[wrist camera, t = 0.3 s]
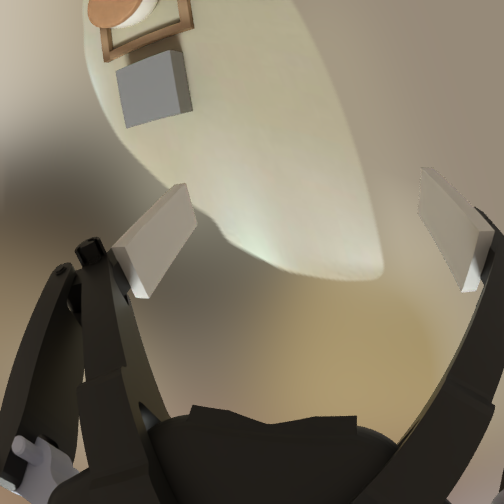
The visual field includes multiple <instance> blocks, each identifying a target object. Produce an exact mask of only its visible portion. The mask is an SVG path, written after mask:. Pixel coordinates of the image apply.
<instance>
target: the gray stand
mask: <svg viewBox="0 0 504 504" xmlns="http://www.w3.org/2000/svg"><path fill="white" fill-rule="evenodd" d="M116 77H117V83H118V88H119V94H120V99H121V105H122V110H123V115H124V120H125V124H126V128H130V127H133V126H137V125H140V124H144V123H147V122H151V121H154V120H158V119H162V118H166V117H170V116H174V115H178V114H182V113H186V112H191V111H193V110H192V104H191V99H190V93H189V88H188V82H187V76H186V70H185V64H184V58H183V52H179V51H173V50H168V51H165V52H162V53H159V54H156V55H154V56H151V57H148V58H146V59H143V60H141V61H138V62H136V63H133V64H131V65H129V66H126V67H124V68H122V69H119V70H117V71H116Z"/></svg>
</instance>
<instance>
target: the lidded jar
mask: <svg viewBox="0 0 504 504" xmlns="http://www.w3.org/2000/svg"><path fill="white" fill-rule="evenodd" d="M157 1H158V0H89V3H88V17H89V20H90V21H91V23H92V24H93V25H95V26H96V27H99V28H125V27H130V26H133V25H135V24H138V23H139V22H141V21H143V20H144V19H145V18H147V17H148V16H149V15H150V14H151V12H152V11H153V10H154V8H155V6H156V4H157Z"/></svg>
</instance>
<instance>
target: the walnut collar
mask: <svg viewBox="0 0 504 504" xmlns="http://www.w3.org/2000/svg"><path fill="white" fill-rule="evenodd" d="M177 2H178V9H179V16H180V22H179V23H176V24H173V25H170V26H168V27H165V28H162V29H160V30H157V31H154V32H152V33H149V34H147V35H145V36H142V37H140V38H138V39H135V40H133V41H131V42H129V43H127V44H124V45H122V46H120V47H118V48H116V49H114V50H113V44H112V36H111V28H100V34H101V43H102V51H103V59H104V62H110V61H112V60H114V59H116V58H118V57H120V56H123V55H125V54H127V53H129V52H132V51H134V50H136V49H138V48H141V47H143V46H146V45H148V44H151V43H153V42H156V41H159V40H161V39H164V38H167V37H170V36H172V35H175V34H178V33H181V32H184V31H188V30H191V29H194V24H193V17H192V11H191V4H190V0H177Z"/></svg>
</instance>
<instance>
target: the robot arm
mask: <svg viewBox="0 0 504 504" xmlns="http://www.w3.org/2000/svg"><path fill="white" fill-rule="evenodd" d="M418 215H419V216H420V218H421V219H422V221H423V222H424V224H425V226H426V227H427V229H428V231H429V232H430V234H431V236H432V238H433V239H434V241H435V243H436V244H437V246H438V248H439V250H440V252H441V253H442V255H443V257H444V259H445V260H446V263H447V264H448V266H449V268H450V270H451V272H452V274H453V276H454V278H455V280H456V282H457V284H458V286H459V288H460V290H461V292H470V291H476V290H477V287H478V284H479V281H480V279H481V280H482V282H483V284H484V288H483V290H482V293H481V295H480V298H479V300H478V303H477V305H476V309H475V311H474V314H473V316H472V319H471V321H470V323H469V326H468V328H467V330H466V332H465V334H464V337H463V339H462V341H461V343H460V345H459V347H458V349H457V351H456V353H455V355H454V357H453V359H452V361H451V363H450V365H449V367H448V368H447V370H446V372H445V374H444V375H443V377H442V379H441V381H440V383H439V384H438V386H437V387H436V389H435V391H434V392H433V394H432V396H431V397H430V399H429V400H428V402H427V404H426V405H425V407H424V408H423V410H422V411H421V413H420V414H419V416H418V417H417V418H416V420H415V421H414V423H413V424H412V425H411V427H410V428H409V429H408V431H407V432H406V433H405V434H404V436H403V437H402V438H401V440H400V441H399V442H398V443H397V444H396V443H394V442H393V441H392V440H390V439H389V438H388V437H386V436H384V435H383V434H381V433H379V432H376V431H374V430H372V429H368V428H365V427H361V426H357V416H335V417H334V416H330V417H317V416H315V417H310V418H305V419H301V420H295V421H289V422H283V423H278V424H265V423H262V422H259V421H256V420H253V419H250V418H248V417H245V416H242V415H240V414H237V413H234V412H231V411H229V410H221V409H215V408H208V407H202V406H197V405H192V408H191V411H190V414H189V415H182V416H177V417H174V418H171V417H170V416H169V414H168V412H167V410H166V408H165V405H164V403H163V400H162V397H161V395H160V392H159V390H158V387H157V384H156V382H155V379H154V376H153V373H152V370H151V368H150V365H149V362H148V359H147V356H146V353H145V349H144V346H143V343H142V340H141V337H140V333H139V330H138V327H137V323H136V320H135V316H134V312H133V309H132V305H131V301H130V299H129V296H128V295H127V292H128V291H129V289H130V288H131V289H132V291H133V293H134V295H135V297H136V298H150V296H151V295H152V293H153V291H154V290H155V288H156V287H157V285H158V284H159V282H160V280H161V279H162V277H163V276H164V274H165V273H166V271H167V269H168V268H169V266H170V265H171V263H172V262H173V260H174V259H175V257H176V256H177V254H178V253H179V251H180V250H181V248H182V246H183V245H184V244H185V242H186V241H187V239H188V238H189V236H190V235H191V233H192V232H193V231H194V229H195V228H196V226H197V225H198V224H197V220H196V217H195V213H194V210H193V206H192V203H191V199H190V196H189V192H188V189H187V185H186V183H183V184H176V185H174V186H173V187H172V188H170V189H169V190H168V191H167V192H166V193H165V194H164V195H163V196H162V197H161V198H160V199H159V200H158V201H157V202H156V203H155V204H154V205H153V206H151V207H150V208H149V209H148V210H147V211H146V212H145V213H144V214H143V215H142V216H141V217H140V218H139V219H138V220H137V221H136V222H135V223H134V224H133V225H132V226H131V227H130V228H129V229H128V231H126V233H124V235H123V236H122V237H121V238H120V239H119V240H118V241H117V242H116V243H115V244H114V245H113V246H112V247H111V249H110V250H109V251H108V252H107V253H106V251H105V249H104V247H103V244H102V242H101V240H100V238H99V237H93V238H90V239H87V240H86V241H84V242H82V243H81V244H80V245H78V247H77V248H76V249H75V253H76V255H77V257H78V259H79V261H80V263H81V265H82V269H79V270H76V271H75V270H74V267H73V266H72V264H71V263H64V264H61V265H59V266H57V267H56V269H55V270H54V271H53V272H52V274H51V275H50V277H49V279H48V281H47V283H46V285H45V287H44V289H43V291H42V293H41V296H40V298H39V300H38V302H37V304H36V307H35V309H34V311H33V313H32V316H31V318H30V321H29V323H28V325H27V328H26V330H25V333H24V336H23V338H22V341H21V344H20V347H19V349H18V352H17V355H16V358H15V361H14V364H13V367H12V370H11V374H10V377H9V380H8V384H7V387H6V391H5V395H4V399H3V403H2V407H1V411H0V486H2V487H4V488H6V489H8V490H10V491H11V492H14V493H16V494H18V495H20V496H22V497H24V498H25V499H26V500H27V501H29V502H30V503H31V504H451V503H450V502H449V501H448V500H447V499H446V498H447V497H448V495H449V494H450V492H451V491H452V489H453V488H454V486H455V485H456V483H457V482H458V480H459V479H460V477H461V475H462V474H463V472H464V471H465V469H466V467H467V466H468V464H469V462H470V460H471V459H472V457H473V455H474V453H475V451H476V450H477V448H478V446H479V444H480V442H481V440H482V438H483V436H484V433H485V432H486V430H487V428H488V425H489V423H490V421H491V418H492V416H493V413H494V410H495V405H493V404H492V399H493V396H494V394H495V391H496V389H497V386H498V384H499V381H500V378H501V375H502V372H503V369H504V235H503V234H502V233H501V232H500V230H499V229H498V228H497V227H496V226H495V225H494V224H493V223H492V221H491V220H490V219H488V217H487V216H486V215H485V214H484V213H483V212H482V211H480V210H479V209H478V208H476V207H473V206H472V205H471V204H470V203H469V202H468V201H467V199H466V198H465V197H464V196H463V195H462V194H460V192H459V191H457V189H456V188H455V187H453V186H452V185H451V184H450V183H449V182H448V181H447V180H446V179H445V178H444V177H443V176H442V175H441V174H440V173H438V172H437V171H436V170H435V169H434V168H426V167H422V168H421V179H420V194H419V205H418ZM68 307H69V308H68ZM69 309H70V310H69ZM84 368H85V377H86V382H84V383H82V382H83V375H84ZM79 418H80V425H81V431H82V436H83V442H84V447H85V452H86V456H87V460H88V465H89V468H87V469H85V470H83V471H82V472H80V473H79V471H78V470H77V469H75V468H73V462H74V458H75V453H76V447H77V436H78V421H79ZM491 504H504V470H503V475H502V480H501V485H500V490H499V494H498V495H497V496H496V497H495V498H494V499H493V501H492V503H491Z"/></svg>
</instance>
